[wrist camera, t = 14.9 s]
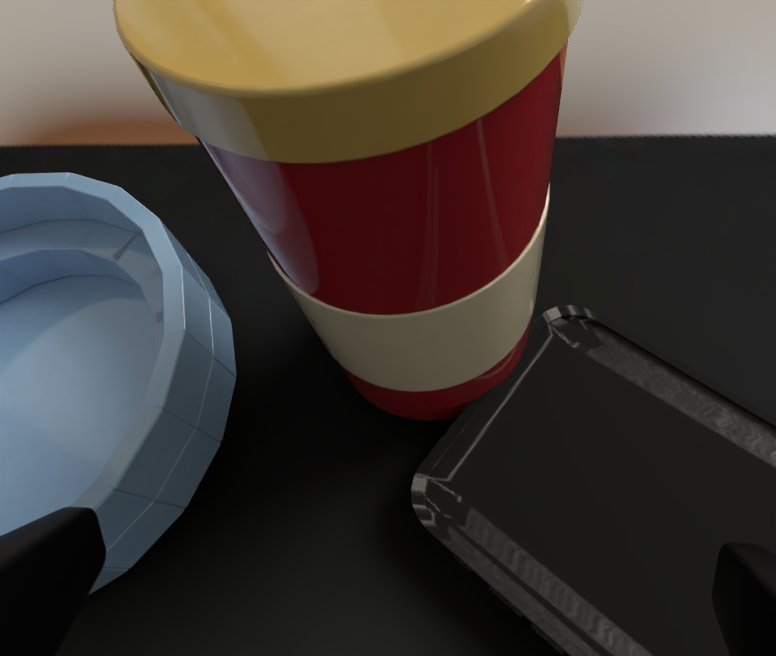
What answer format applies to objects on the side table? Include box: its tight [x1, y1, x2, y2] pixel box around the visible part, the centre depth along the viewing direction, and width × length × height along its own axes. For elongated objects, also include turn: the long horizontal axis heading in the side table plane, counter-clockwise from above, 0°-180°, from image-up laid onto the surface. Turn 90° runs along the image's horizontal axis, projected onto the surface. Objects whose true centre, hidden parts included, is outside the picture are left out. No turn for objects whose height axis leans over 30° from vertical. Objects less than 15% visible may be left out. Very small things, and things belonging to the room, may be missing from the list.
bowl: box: [0, 173, 237, 595], centre depth 16 cm, size 13×13×4 cm
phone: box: [411, 305, 776, 656], centre depth 12 cm, size 8×1×15 cm
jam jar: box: [113, 0, 584, 420], centre depth 12 cm, size 6×6×12 cm
